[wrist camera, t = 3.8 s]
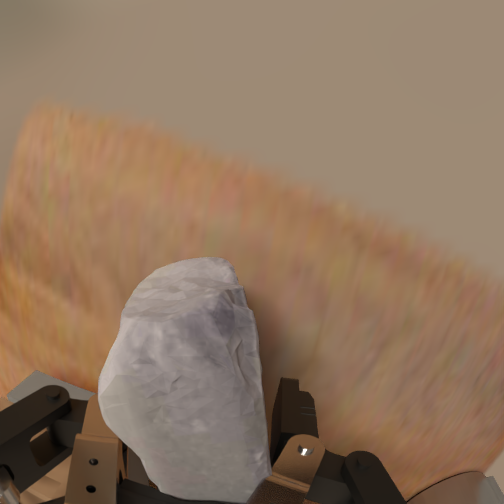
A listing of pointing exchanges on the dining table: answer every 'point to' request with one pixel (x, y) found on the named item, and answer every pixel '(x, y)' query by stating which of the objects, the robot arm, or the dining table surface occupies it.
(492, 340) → the dining table surface
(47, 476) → the tan open box
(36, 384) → the base slab
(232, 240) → the dining table surface
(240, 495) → the stone block
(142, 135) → the dining table surface
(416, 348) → the dining table surface
